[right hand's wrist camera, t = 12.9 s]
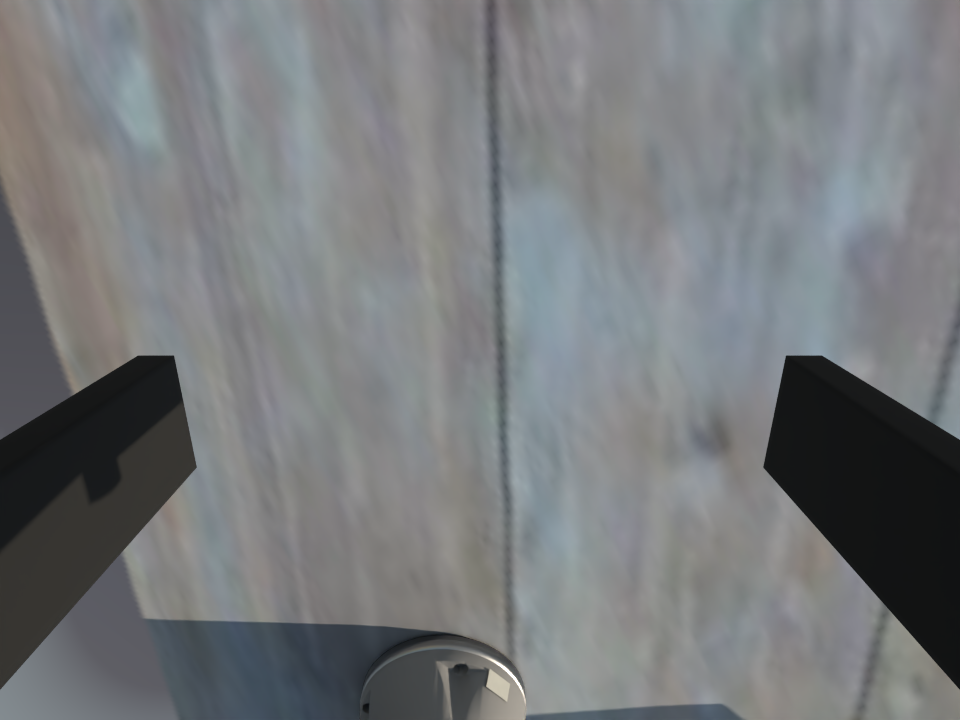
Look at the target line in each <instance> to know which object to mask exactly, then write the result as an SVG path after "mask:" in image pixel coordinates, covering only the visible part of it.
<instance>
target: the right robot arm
mask: <svg viewBox="0 0 960 720" xmlns="http://www.w3.org/2000/svg"><path fill="white" fill-rule="evenodd" d="M196 468H197V467H196V462H195V457H194V452H193V447H192V442H191V437H190V432H189V427H188V422H187V418H186V413H185V408H184V403H183V398H182V393H181V388H180V383H179V378H178V373H177V368H176V364H175V359H174V356H137V357H135V358H134V359H132V360H130V361H129V362H127V363H125V364H124V365H122V366H120V367H119V368H117V369H116V370H114V371H112V372H111V373H109V374H107V375H106V376H104V377H102V378H101V379H99V380H98V381H96V382H94V383H93V384H91V385H89V386H88V387H86V388H84V389H83V390H81V391H79V392H78V393H76V394H75V395H73V396H71V397H70V398H68V399H66V400H65V401H63V402H61V403H60V404H58V405H57V406H55V407H53V408H52V409H50V410H48V411H47V412H45V413H43V414H42V415H40V416H39V417H37V418H35V419H34V420H32V421H30V422H29V423H27V424H25V425H24V426H22V427H21V428H19V429H17V430H16V431H14V432H12V433H11V434H9V435H7V436H6V437H4V438H3V439H1V440H0V689H1V688H2V687H3V686H4V685H5V683H6V682H7V681H8V680H9V679H10V678H11V677H12V676H13V674H14V673H15V672H16V671H17V670H18V669H19V668H20V667H21V665H22V664H23V663H24V662H25V661H26V660H27V659H28V658H29V656H30V655H31V654H32V653H33V652H34V651H35V650H36V648H37V647H38V646H39V645H40V644H41V643H42V642H43V640H44V639H45V638H46V637H47V636H48V635H49V634H50V633H51V631H52V630H53V629H54V628H55V627H56V626H57V625H58V624H59V622H60V621H61V620H62V619H63V618H64V617H65V616H66V615H67V613H68V612H69V611H70V610H71V609H72V608H73V607H74V605H75V604H76V603H77V602H78V601H79V600H80V599H81V598H82V596H83V595H84V594H85V593H86V592H87V591H88V590H89V588H90V587H91V586H92V585H93V584H94V583H95V582H96V581H97V579H98V578H99V577H100V576H101V575H102V574H103V573H104V572H105V570H106V569H107V568H108V567H109V566H110V565H111V564H112V563H113V561H114V560H115V559H116V558H117V557H118V556H119V555H120V553H121V552H122V551H123V550H124V549H125V548H126V547H127V546H128V544H129V543H130V542H131V541H132V540H133V539H134V538H135V537H136V535H137V534H138V533H139V532H140V531H141V530H142V529H143V527H144V526H145V525H146V524H147V523H148V522H149V521H150V520H151V518H152V517H153V516H154V515H155V514H156V513H157V512H158V511H159V509H160V508H161V507H162V506H163V505H164V504H165V503H166V501H167V500H168V499H169V498H170V497H171V496H172V495H173V494H174V492H175V491H176V490H177V489H178V488H179V487H180V486H181V485H182V483H183V482H184V481H185V480H186V479H187V478H188V477H189V475H190V474H191V473H192V472H193V471H194V470H195V469H196ZM763 468H764V469H765V470H766V471H767V472H768V473H769V474H770V475H771V477H772V478H773V479H774V480H775V481H776V482H777V483H778V485H779V486H780V487H781V488H782V489H783V490H784V491H785V492H786V494H787V495H788V496H789V497H790V498H791V499H792V500H793V501H794V503H795V504H796V505H797V506H798V507H799V508H800V509H801V511H802V512H803V513H804V514H805V515H806V516H807V517H808V518H809V520H810V521H811V522H812V523H813V524H814V525H815V526H816V527H817V529H818V530H819V531H820V532H821V533H822V534H823V535H824V537H825V538H826V539H827V540H828V541H829V542H830V543H831V544H832V546H833V547H834V548H835V549H836V550H837V551H838V552H839V553H840V555H841V556H842V557H843V558H844V559H845V560H846V561H847V563H848V564H849V565H850V566H851V567H852V568H853V569H854V570H855V572H856V573H857V574H858V575H859V576H860V577H861V578H862V579H863V581H864V582H865V583H866V584H867V585H868V586H869V587H870V589H871V590H872V591H873V592H874V593H875V594H876V595H877V596H878V598H879V599H880V600H881V601H882V602H883V603H884V604H885V605H886V607H887V608H888V609H889V610H890V611H891V612H892V613H893V615H894V616H895V617H896V618H897V619H898V620H899V621H900V622H901V624H902V625H903V626H904V627H905V628H906V629H907V630H908V631H909V633H910V634H911V635H912V636H913V637H914V638H915V639H916V641H917V642H918V643H919V644H920V645H921V646H922V647H923V648H924V650H925V651H926V652H927V653H928V654H929V655H930V656H931V658H932V659H933V660H934V661H935V662H936V663H937V664H938V665H939V667H940V668H941V669H942V670H943V671H944V672H945V673H946V674H947V676H948V677H949V678H950V679H951V680H952V681H953V682H954V684H955V685H956V686H957V687H958V688H959V689H960V440H959V439H957V438H956V437H954V436H953V435H951V434H949V433H948V432H946V431H944V430H943V429H941V428H939V427H938V426H936V425H935V424H933V423H931V422H930V421H928V420H926V419H925V418H923V417H921V416H920V415H918V414H917V413H915V412H913V411H912V410H910V409H908V408H907V407H905V406H903V405H902V404H900V403H899V402H897V401H895V400H894V399H892V398H890V397H889V396H887V395H885V394H884V393H882V392H881V391H879V390H877V389H876V388H874V387H872V386H871V385H869V384H867V383H866V382H864V381H862V380H861V379H859V378H858V377H856V376H854V375H853V374H851V373H849V372H848V371H846V370H844V369H843V368H841V367H840V366H838V365H836V364H835V363H833V362H831V361H830V360H828V359H826V358H825V357H823V356H786V359H785V364H784V368H783V373H782V378H781V383H780V388H779V393H778V398H777V403H776V408H775V413H774V418H773V422H772V427H771V432H770V437H769V442H768V447H767V452H766V457H765V462H764V467H763ZM525 717H526V699H525V688H524V684H523V681H522V678H521V676H520V674H519V672H518V671H517V669H516V668H515V666H514V665H513V664H512V663H511V662H510V661H509V660H508V659H507V658H506V657H505V656H504V655H503V654H501V653H500V652H499V651H497V650H495V649H494V648H492V647H490V646H488V645H486V644H484V643H481V642H479V641H476V640H473V639H469V638H465V637H459V636H450V635H435V636H426V637H420V638H416V639H412V640H409V641H406V642H403V643H401V644H399V645H397V646H395V647H393V648H391V649H390V650H388V651H387V652H385V653H384V654H383V655H381V656H380V657H379V658H378V659H377V660H376V661H375V663H374V664H373V665H372V666H371V668H370V670H369V671H368V673H367V675H366V678H365V681H364V685H363V690H362V694H361V699H360V720H525Z"/></svg>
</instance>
